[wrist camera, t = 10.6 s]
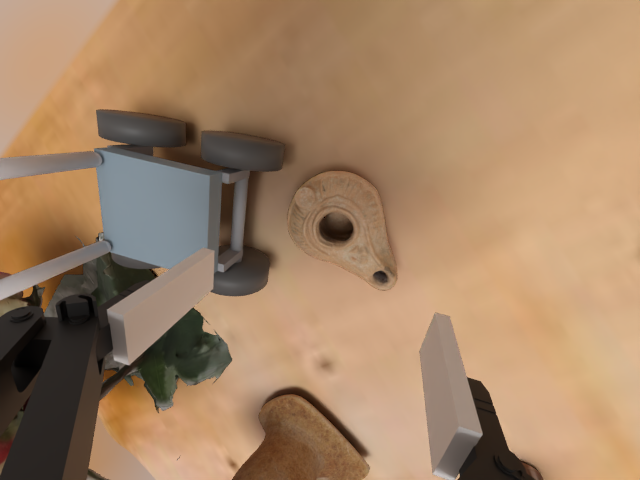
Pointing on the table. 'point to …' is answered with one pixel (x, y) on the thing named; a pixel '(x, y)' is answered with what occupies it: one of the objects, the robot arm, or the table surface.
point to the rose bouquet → (154, 363)
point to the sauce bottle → (532, 472)
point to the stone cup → (301, 446)
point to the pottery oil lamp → (343, 226)
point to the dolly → (159, 200)
